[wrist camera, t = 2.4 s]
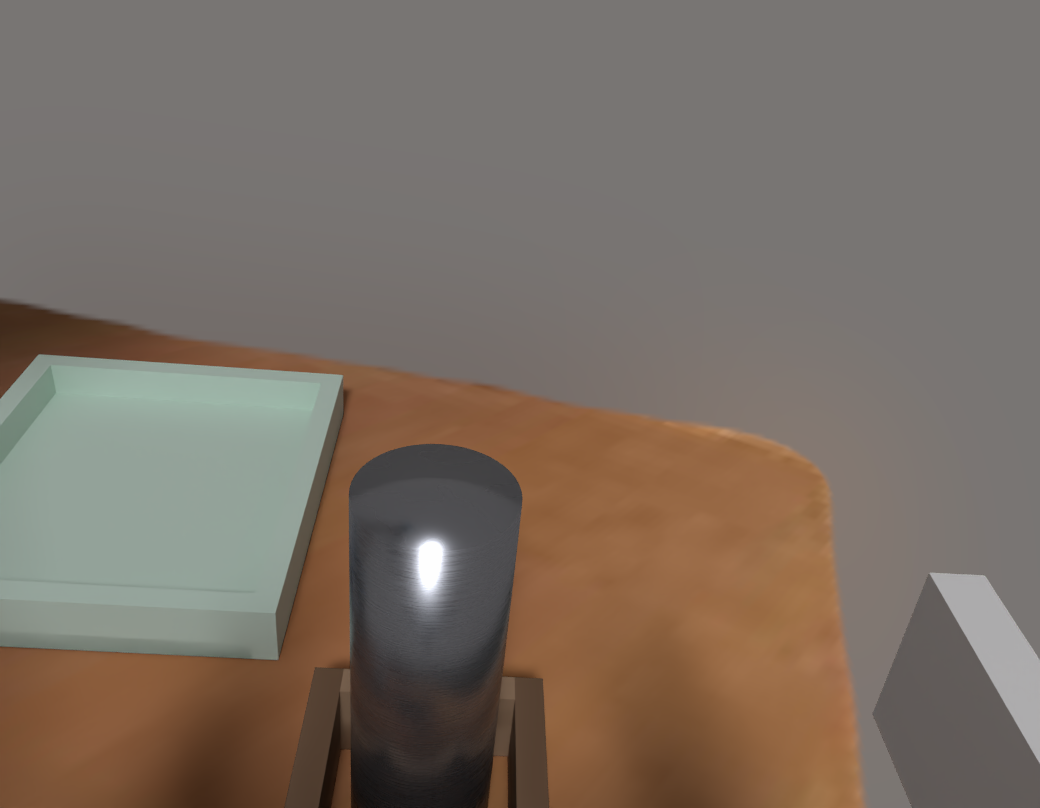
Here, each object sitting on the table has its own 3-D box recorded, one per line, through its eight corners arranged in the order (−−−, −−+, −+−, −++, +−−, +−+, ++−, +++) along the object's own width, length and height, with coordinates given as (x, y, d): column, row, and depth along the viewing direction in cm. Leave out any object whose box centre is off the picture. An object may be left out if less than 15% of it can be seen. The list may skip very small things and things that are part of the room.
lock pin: (342, 889, 29) (337, 544, 22) (360, 769, 33) (360, 439, 26) (483, 895, 30) (524, 554, 22) (485, 774, 33) (520, 449, 26)
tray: (-146, 639, 36) (-165, 590, 35) (47, 394, 51) (38, 354, 50) (278, 660, 37) (275, 613, 36) (343, 414, 52) (343, 375, 51)
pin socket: (272, 946, 28) (266, 887, 26) (317, 724, 35) (315, 667, 33) (542, 955, 28) (553, 897, 27) (534, 734, 35) (542, 678, 33)
